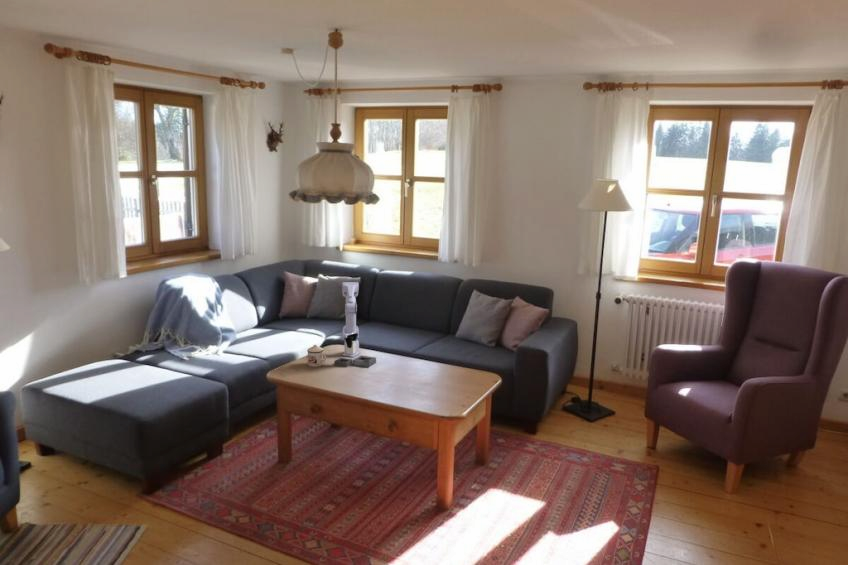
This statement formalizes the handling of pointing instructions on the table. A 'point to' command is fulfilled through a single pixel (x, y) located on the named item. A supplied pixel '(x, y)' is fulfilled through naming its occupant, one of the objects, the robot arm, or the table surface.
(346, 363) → the grey hollow square frame
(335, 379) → the table surface
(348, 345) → the robot arm
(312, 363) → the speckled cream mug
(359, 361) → the port
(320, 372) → the table surface
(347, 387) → the table surface
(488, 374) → the table surface
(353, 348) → the plug
